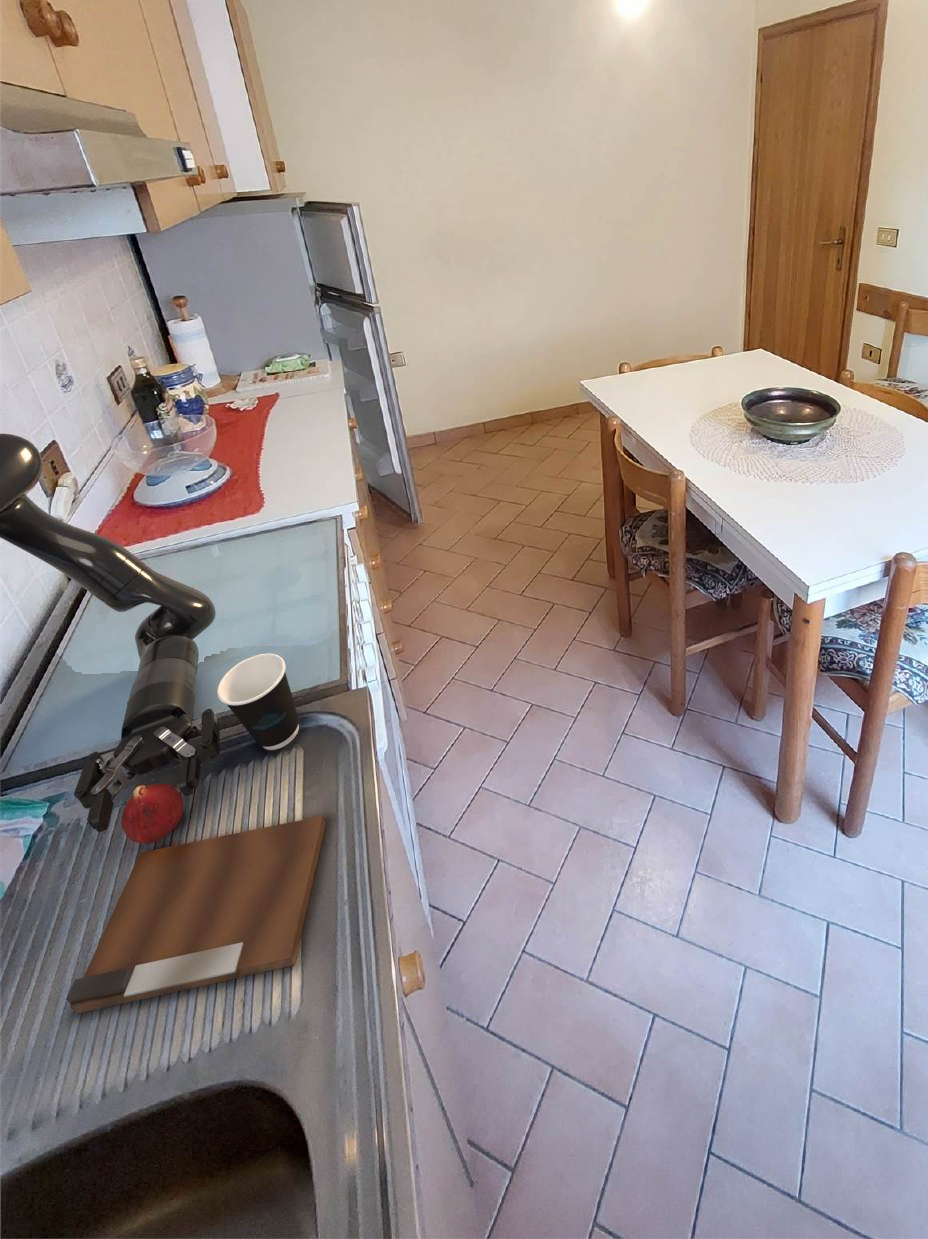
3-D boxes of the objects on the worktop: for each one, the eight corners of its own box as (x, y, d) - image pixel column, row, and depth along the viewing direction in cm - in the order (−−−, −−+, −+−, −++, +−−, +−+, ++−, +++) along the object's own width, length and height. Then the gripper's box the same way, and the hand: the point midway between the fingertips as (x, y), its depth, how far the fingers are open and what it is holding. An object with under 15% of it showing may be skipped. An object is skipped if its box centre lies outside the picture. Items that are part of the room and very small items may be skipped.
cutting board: (75, 1017, 60) (62, 1005, 59) (145, 860, 72) (136, 847, 71) (294, 968, 62) (286, 955, 61) (326, 823, 74) (319, 810, 73)
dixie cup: (278, 769, 81) (247, 711, 76) (234, 750, 84) (202, 693, 79) (323, 718, 87) (298, 661, 82) (281, 702, 90) (254, 646, 85)
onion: (196, 836, 74) (167, 795, 70) (139, 868, 71) (106, 827, 68) (191, 798, 78) (164, 757, 75) (137, 826, 76) (106, 786, 72)
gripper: (231, 699, 88) (225, 800, 75) (113, 743, 84) (84, 859, 71) (210, 661, 85) (200, 760, 72) (86, 705, 80) (50, 820, 67)
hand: (142, 809), depth 71 cm, fingers open, 8 cm apart
